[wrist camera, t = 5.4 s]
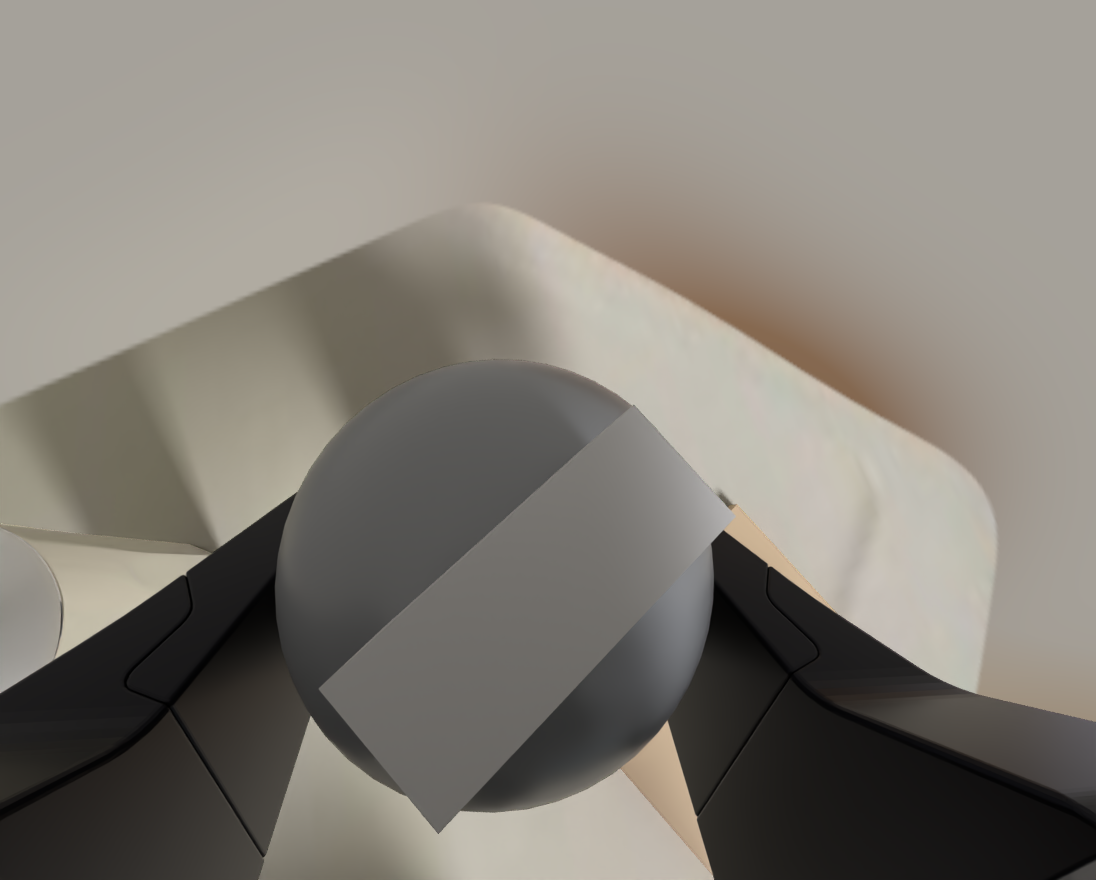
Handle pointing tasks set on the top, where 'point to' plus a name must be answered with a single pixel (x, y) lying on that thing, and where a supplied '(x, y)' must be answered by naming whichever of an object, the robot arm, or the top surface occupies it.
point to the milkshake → (73, 589)
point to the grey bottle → (496, 586)
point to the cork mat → (658, 759)
